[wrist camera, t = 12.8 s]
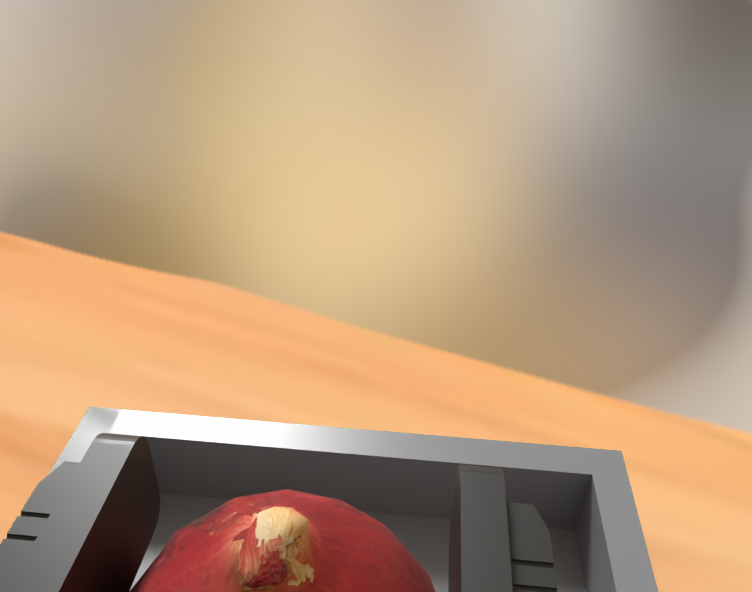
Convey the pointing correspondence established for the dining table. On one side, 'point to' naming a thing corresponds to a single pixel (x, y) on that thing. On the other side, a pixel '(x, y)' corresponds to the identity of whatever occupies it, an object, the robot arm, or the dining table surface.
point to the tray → (390, 485)
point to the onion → (284, 550)
